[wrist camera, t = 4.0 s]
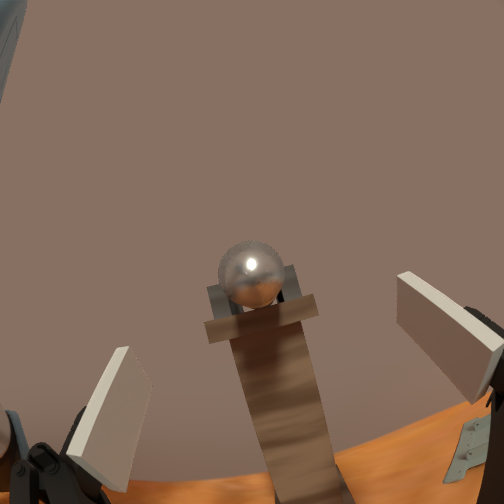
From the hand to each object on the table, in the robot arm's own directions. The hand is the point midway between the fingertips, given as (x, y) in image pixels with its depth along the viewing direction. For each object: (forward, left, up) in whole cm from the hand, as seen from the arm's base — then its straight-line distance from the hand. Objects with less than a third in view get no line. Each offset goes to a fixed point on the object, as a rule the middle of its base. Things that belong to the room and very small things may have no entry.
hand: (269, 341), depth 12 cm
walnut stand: (-4, +18, -28) cm, 34 cm away
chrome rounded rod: (-3, +14, +2) cm, 14 cm away
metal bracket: (+23, +16, -29) cm, 41 cm away
